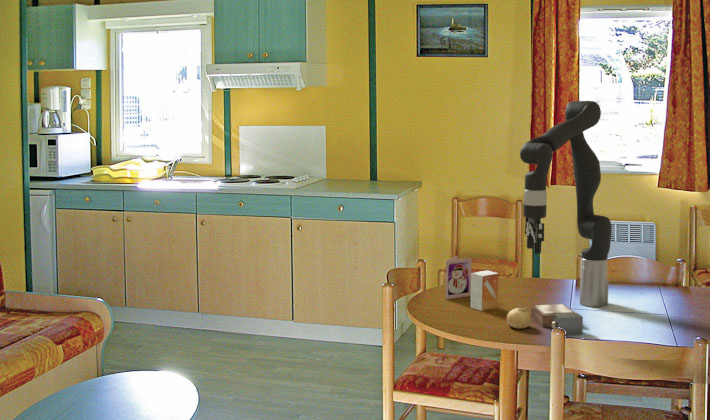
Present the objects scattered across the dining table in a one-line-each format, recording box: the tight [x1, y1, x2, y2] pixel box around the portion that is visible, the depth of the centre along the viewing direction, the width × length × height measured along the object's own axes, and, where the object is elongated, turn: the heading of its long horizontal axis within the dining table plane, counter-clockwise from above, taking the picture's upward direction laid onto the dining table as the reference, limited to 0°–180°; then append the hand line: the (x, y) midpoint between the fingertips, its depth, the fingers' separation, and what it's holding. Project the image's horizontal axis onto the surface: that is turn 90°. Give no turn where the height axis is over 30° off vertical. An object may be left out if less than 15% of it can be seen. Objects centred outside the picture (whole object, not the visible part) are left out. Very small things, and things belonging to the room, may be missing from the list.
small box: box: [470, 269, 500, 312], centre depth 291 cm, size 8×6×13 cm
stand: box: [530, 303, 576, 328], centre depth 274 cm, size 12×12×4 cm
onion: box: [506, 307, 532, 330], centre depth 268 cm, size 8×8×7 cm
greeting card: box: [445, 255, 472, 300], centre depth 308 cm, size 11×7×15 cm, turn 115°
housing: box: [551, 312, 584, 336], centre depth 261 cm, size 9×5×6 cm, turn 96°
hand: (533, 250), depth 269 cm, fingers open, 8 cm apart
